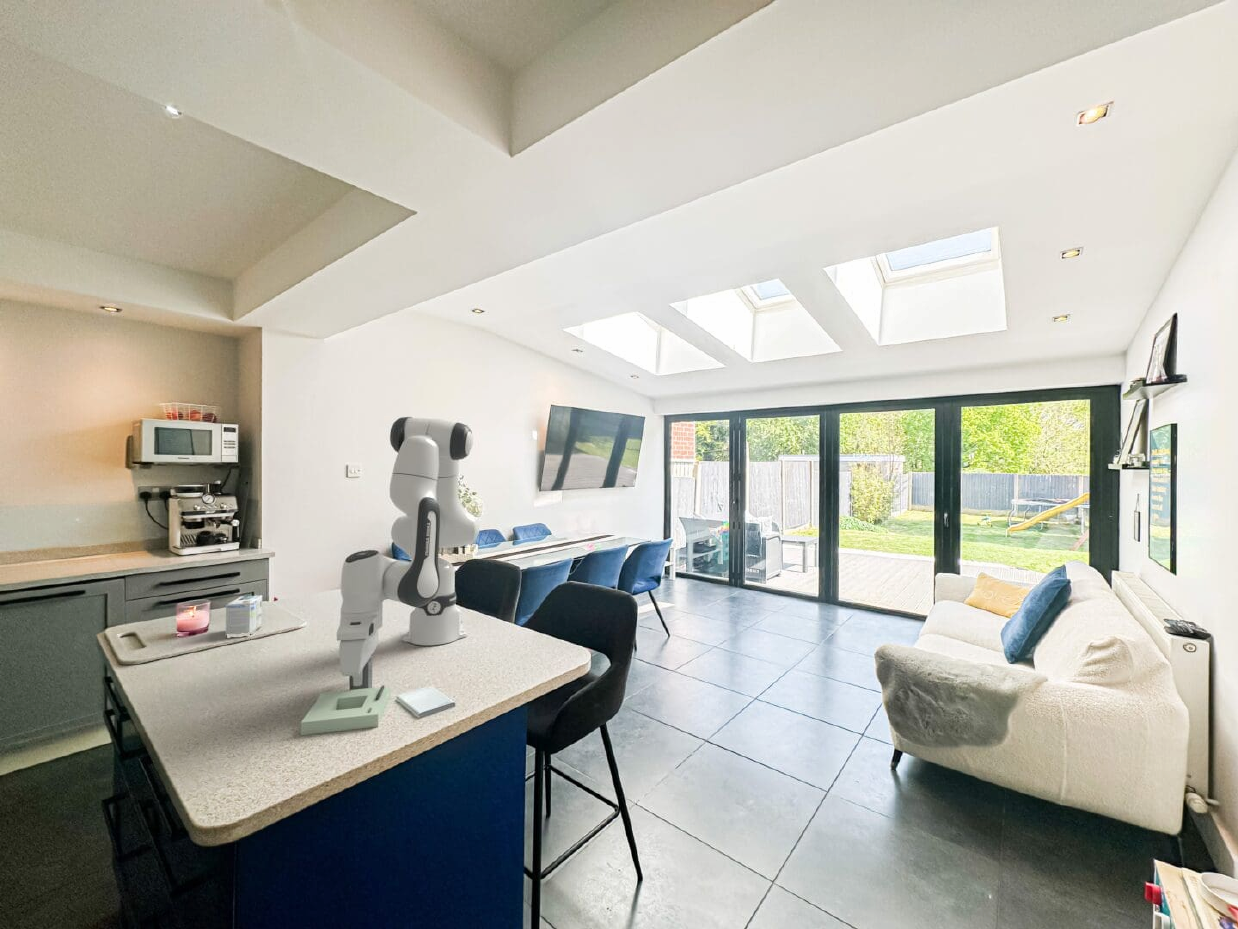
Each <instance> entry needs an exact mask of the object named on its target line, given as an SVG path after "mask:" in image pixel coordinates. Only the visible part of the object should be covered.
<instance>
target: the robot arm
mask: <svg viewBox="0 0 1238 929" xmlns="http://www.w3.org/2000/svg"><path fill="white" fill-rule="evenodd" d="M473 437H474V436H473V431H472V430H471V428H470V426H468V425H467V424H465V423H462V422H454V421H449V420H445V419H440V418H423V417H419V418H417V417H415V418H414V417H412V416H403V417H399V418H398V419H395V421H394V422H393V423H392V426H391V428H390V434H389V442H390V445H391V447H392V449H393V450H394V451H395V452H396V453H397V455H396V458H395V462H394V465H393V469H392V474H391V477H390V484H389V497H390V499H391V501H392V503H393V505H394V506H395V507H396V508H397V509H398V510H399V511H400V512H402V513H404V515H402V516H399V517H398V518H397V519H395V520H394V522H393V524H392V526H391V531H390V532H391V533H390V534H391V536H390V537H391V539H392V542H393V544H394V545H395V546H396V547H398V549H400V550H402V551H403V552H404V553H406V555H407V556H408V557H409V558H410V561H405V560H399V559H395V558H392V557H388V556H387V555H384V554H382V553H380V551H378V550H376V549H375V550H374V549H367V550H360V551H356V552H354V553H352V554H350V555H349V556H347V557H346V558H345V560H344V562H343V565H342V568H341V578H340V595H341V597H342V603H341V606H340V619H339V625H338V626H339V627H338V629H337V631H336V640H337V641H339V648H338V649H339V650H338V651H339V653H338V654H339V668H340V672H341V675H342V676H343V677H349V676H352V677H353V685H354V686H361V685H362V683H363V676H362V670H363V668H364V666H365V665H366V663H367V661H368V660H369V658H372V655H373V653H374V652H375V651H376V649H377V647H378V646H379V645H378V644H379V630H380V629H381V628H382V627H383V603H384V601H386V600H390V601H394V602H398V603H403V604H405V605H407V606H410V607H412V608H414V609H413V611H411V613H410V615H409V625H408V626H409V627H408V630H409V631H408V633H407V634H405V635H404V636H403V638H402V641H403V642H404V643H405V642H406V643H411V644H413V645H418V646H436V645H437V646H438V645H439V646H440V645H444V644H448V643H449V644H450V643H453V642H454V641H457V640H459V639H463V638H466V637H468V632H467V630H466V629H465V626H464V625H463V624H462V623H463V621H462V619H461V617H462V616H461V609H459V608H460V607H458V606H457V605H456V603H457V593H456V590H455V589H456V587H455V584H456V583H455V580H456V579H455V577H456V574H455V573H456V570H455V567H454V565H453V564H452V563H451V562H449V561H447V560H445V559H443V558H440V557H439V549H447V548H450V549H451V548H460V547H465V546H468V545H472V544H473V543H474V542H476V540H477V538H478V536H479V533H480V524H479V521H478V520H477V518H476V516H474V515H473V514H472V513H470V512H469V511H468V510H467V509H466V508H465V507H464V505H463V504H462V502H461V499H460V496H459V460H464V459H465V458H467V457H468V456H469V455H470V452H471V450H472V447H473V444H474V438H473Z"/></svg>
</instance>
